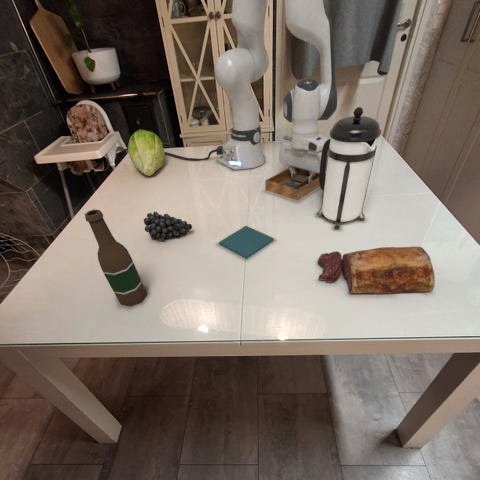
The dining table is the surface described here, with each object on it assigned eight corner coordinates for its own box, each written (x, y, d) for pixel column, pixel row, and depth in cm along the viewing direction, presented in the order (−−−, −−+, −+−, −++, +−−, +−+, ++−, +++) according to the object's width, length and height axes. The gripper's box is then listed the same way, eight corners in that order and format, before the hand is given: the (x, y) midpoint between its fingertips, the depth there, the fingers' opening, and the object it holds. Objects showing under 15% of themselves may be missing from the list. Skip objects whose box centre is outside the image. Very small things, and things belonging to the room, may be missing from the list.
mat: (219, 244, 92) (218, 242, 92) (246, 227, 97) (246, 225, 97) (246, 258, 86) (246, 256, 85) (273, 240, 91) (273, 238, 91)
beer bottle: (121, 289, 82) (78, 205, 64) (149, 285, 82) (114, 201, 64) (115, 308, 77) (67, 224, 59) (145, 305, 76) (106, 219, 59)
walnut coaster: (290, 183, 115) (290, 178, 114) (299, 178, 118) (300, 173, 116) (302, 187, 112) (303, 182, 110) (312, 182, 114) (312, 176, 113)
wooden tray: (265, 191, 114) (265, 180, 111) (293, 175, 121) (294, 164, 118) (297, 202, 106) (297, 190, 103) (325, 184, 113) (326, 173, 110)
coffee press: (368, 208, 99) (395, 98, 77) (359, 233, 90) (387, 116, 68) (316, 201, 105) (327, 98, 83) (303, 224, 96) (312, 115, 73)
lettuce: (171, 184, 137) (139, 193, 138) (166, 148, 146) (136, 157, 148) (158, 157, 124) (122, 168, 125) (154, 119, 133) (121, 129, 134)
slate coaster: (278, 190, 112) (278, 185, 111) (288, 184, 115) (288, 179, 113) (290, 194, 109) (291, 189, 107) (301, 188, 112) (301, 183, 110)
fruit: (189, 204, 92) (141, 207, 93) (188, 225, 89) (138, 228, 89) (194, 223, 100) (150, 226, 101) (193, 243, 97) (148, 246, 97)
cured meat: (311, 256, 84) (314, 235, 79) (402, 249, 83) (410, 227, 77) (324, 301, 72) (328, 279, 67) (431, 294, 70) (443, 271, 65)
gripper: (275, 137, 108) (275, 176, 118) (323, 147, 97) (318, 189, 107) (286, 132, 111) (285, 171, 121) (334, 141, 100) (328, 183, 110)
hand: (301, 179), depth 114 cm, fingers closed on walnut coaster, 6 cm apart
